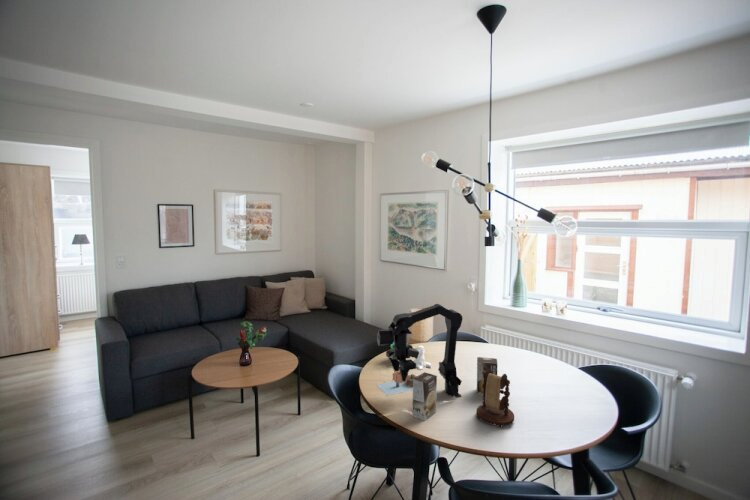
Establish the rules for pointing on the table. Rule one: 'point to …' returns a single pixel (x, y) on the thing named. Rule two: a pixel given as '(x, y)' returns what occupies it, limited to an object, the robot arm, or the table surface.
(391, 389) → the gear board
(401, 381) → the salmon gear
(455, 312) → the robot arm
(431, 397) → the coffee box
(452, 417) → the table surface
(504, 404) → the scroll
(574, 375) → the table surface
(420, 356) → the seated beast figurine
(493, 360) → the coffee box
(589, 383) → the table surface
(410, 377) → the walnut gear
